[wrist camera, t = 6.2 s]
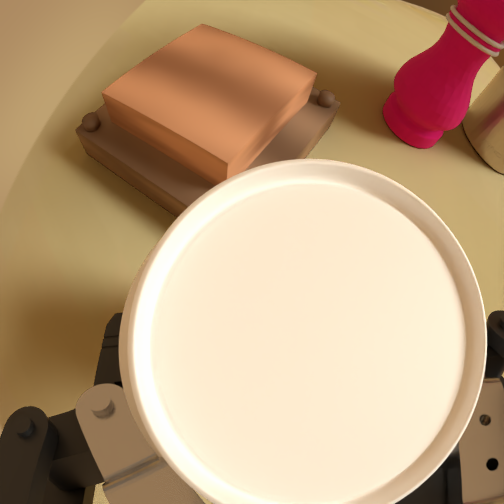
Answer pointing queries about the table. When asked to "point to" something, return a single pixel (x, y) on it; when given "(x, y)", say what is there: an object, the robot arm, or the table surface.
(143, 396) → the beverage can
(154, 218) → the table surface
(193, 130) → the brick plinth
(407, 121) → the pepper mill
